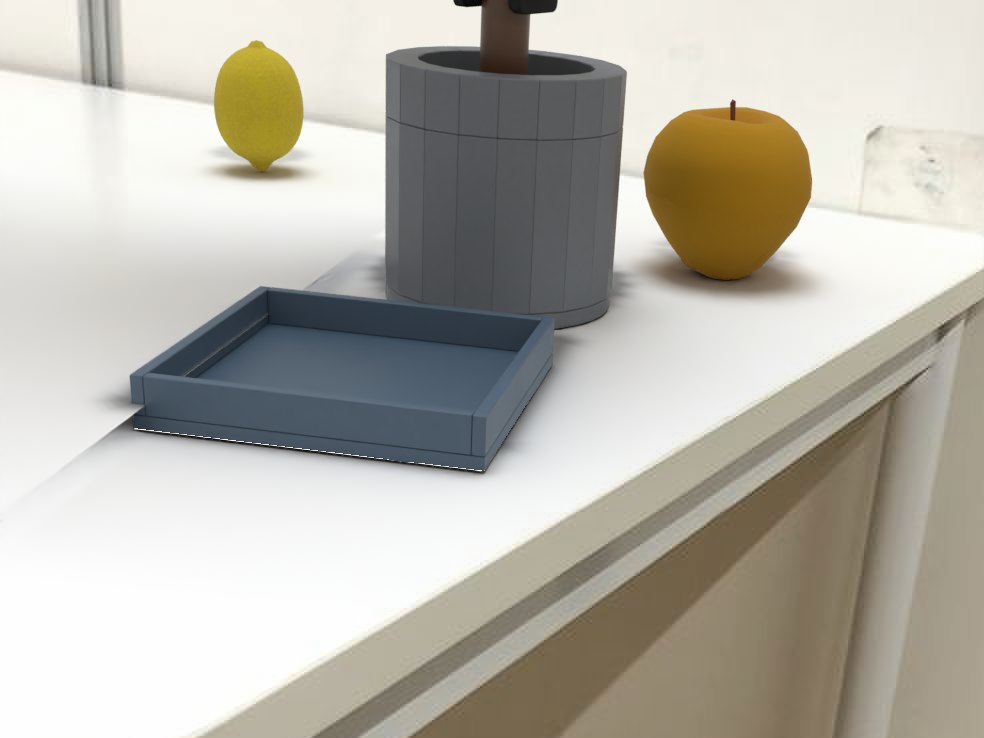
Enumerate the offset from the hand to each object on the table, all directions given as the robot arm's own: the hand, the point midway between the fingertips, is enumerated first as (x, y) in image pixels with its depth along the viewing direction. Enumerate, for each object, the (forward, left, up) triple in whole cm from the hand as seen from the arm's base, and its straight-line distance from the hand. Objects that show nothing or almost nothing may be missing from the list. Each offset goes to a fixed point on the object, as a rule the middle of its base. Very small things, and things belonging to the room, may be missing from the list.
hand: (505, 5), depth 67 cm
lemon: (-21, +24, -14) cm, 35 cm away
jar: (0, 0, -13) cm, 13 cm away
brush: (0, 0, -10) cm, 10 cm away
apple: (+10, +10, -14) cm, 20 cm away
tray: (-2, -16, -13) cm, 21 cm away
